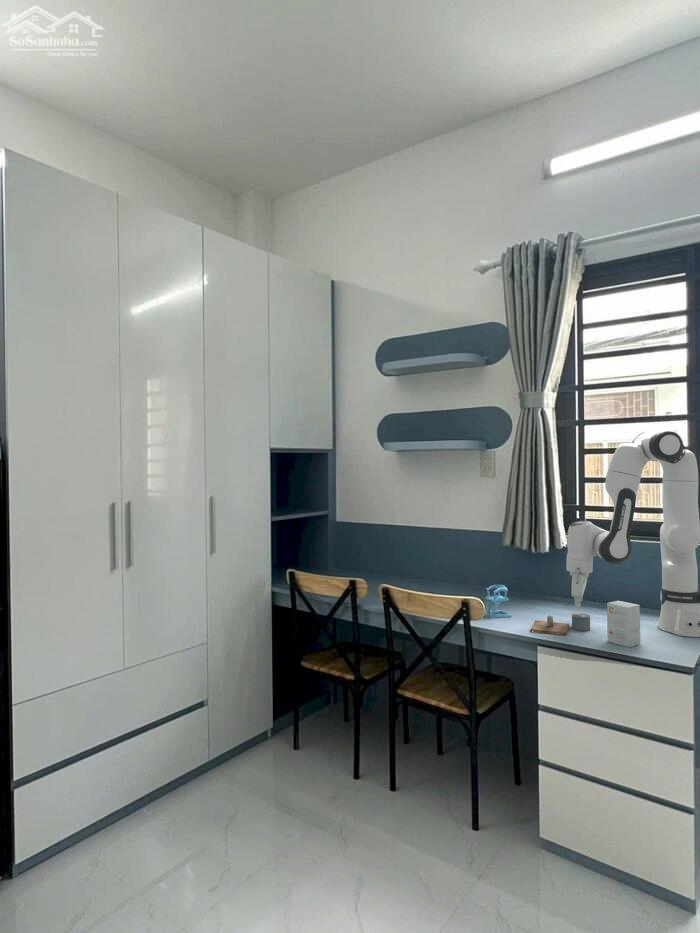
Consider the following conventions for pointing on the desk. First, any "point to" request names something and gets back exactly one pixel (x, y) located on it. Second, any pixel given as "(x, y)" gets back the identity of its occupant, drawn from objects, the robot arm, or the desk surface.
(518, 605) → the desk surface
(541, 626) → the wooden peg board
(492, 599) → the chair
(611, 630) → the small box
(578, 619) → the knob
